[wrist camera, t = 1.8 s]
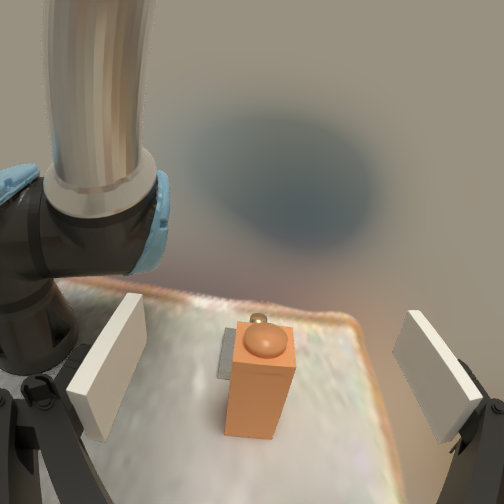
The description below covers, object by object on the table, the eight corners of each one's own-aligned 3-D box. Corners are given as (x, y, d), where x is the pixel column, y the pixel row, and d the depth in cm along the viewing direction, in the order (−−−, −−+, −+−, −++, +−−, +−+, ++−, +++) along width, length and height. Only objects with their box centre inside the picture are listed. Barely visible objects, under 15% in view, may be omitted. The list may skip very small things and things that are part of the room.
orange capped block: (224, 434, 29) (233, 354, 23) (228, 399, 33) (238, 314, 27) (271, 439, 29) (298, 360, 23) (271, 403, 33) (294, 320, 28)
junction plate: (217, 378, 36) (220, 337, 33) (224, 335, 43) (228, 295, 40) (283, 384, 36) (294, 344, 33) (281, 341, 43) (290, 302, 40)
